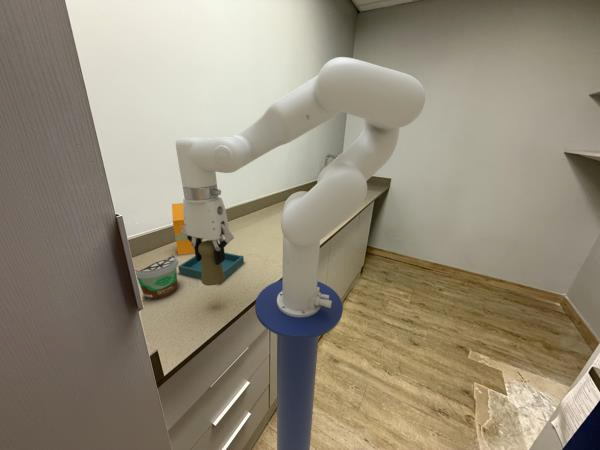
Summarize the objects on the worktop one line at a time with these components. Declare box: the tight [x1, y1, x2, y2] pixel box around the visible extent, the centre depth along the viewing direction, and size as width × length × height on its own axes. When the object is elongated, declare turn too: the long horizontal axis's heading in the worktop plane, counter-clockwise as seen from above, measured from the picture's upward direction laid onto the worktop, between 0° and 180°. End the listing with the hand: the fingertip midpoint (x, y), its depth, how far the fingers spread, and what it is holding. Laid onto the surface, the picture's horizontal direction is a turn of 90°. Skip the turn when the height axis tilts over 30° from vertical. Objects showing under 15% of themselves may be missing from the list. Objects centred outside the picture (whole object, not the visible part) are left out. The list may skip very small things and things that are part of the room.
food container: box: [134, 253, 179, 300], centre depth 72 cm, size 12×6×10 cm, turn 151°
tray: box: [177, 252, 245, 285], centre depth 87 cm, size 17×15×3 cm
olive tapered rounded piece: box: [198, 239, 226, 286], centre depth 64 cm, size 6×6×11 cm
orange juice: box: [171, 202, 195, 256], centre depth 97 cm, size 8×9×20 cm
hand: (210, 259), depth 63 cm, fingers closed on olive tapered rounded piece, 5 cm apart
